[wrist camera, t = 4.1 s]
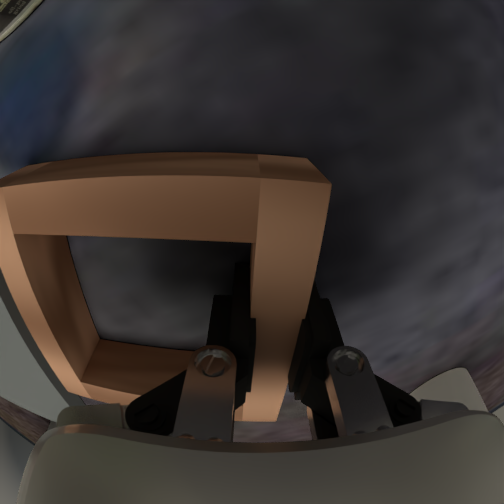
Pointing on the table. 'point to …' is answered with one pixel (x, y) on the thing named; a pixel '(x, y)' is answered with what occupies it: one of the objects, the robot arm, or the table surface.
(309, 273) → the ring
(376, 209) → the table surface
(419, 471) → the robot arm
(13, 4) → the coffee can
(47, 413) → the stand
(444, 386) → the cylindrical container
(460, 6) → the table surface
